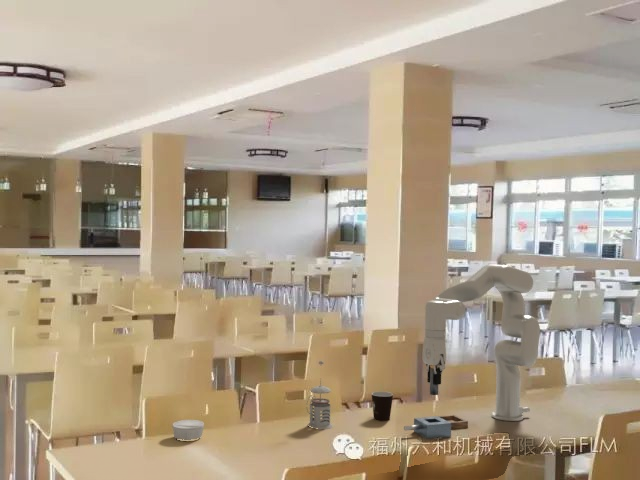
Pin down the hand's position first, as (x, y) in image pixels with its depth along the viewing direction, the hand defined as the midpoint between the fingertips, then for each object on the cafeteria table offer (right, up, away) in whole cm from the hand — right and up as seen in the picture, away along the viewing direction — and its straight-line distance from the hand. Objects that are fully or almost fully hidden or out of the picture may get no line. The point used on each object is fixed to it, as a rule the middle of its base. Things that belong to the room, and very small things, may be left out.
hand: (434, 382), depth 264 cm
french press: (-43, -18, +7) cm, 47 cm away
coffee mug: (-18, -19, +21) cm, 33 cm away
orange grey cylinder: (0, -4, 0) cm, 4 cm away
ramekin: (-90, -18, -12) cm, 92 cm away
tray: (+7, -19, +12) cm, 24 cm away
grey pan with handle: (-4, -19, -1) cm, 19 cm away
